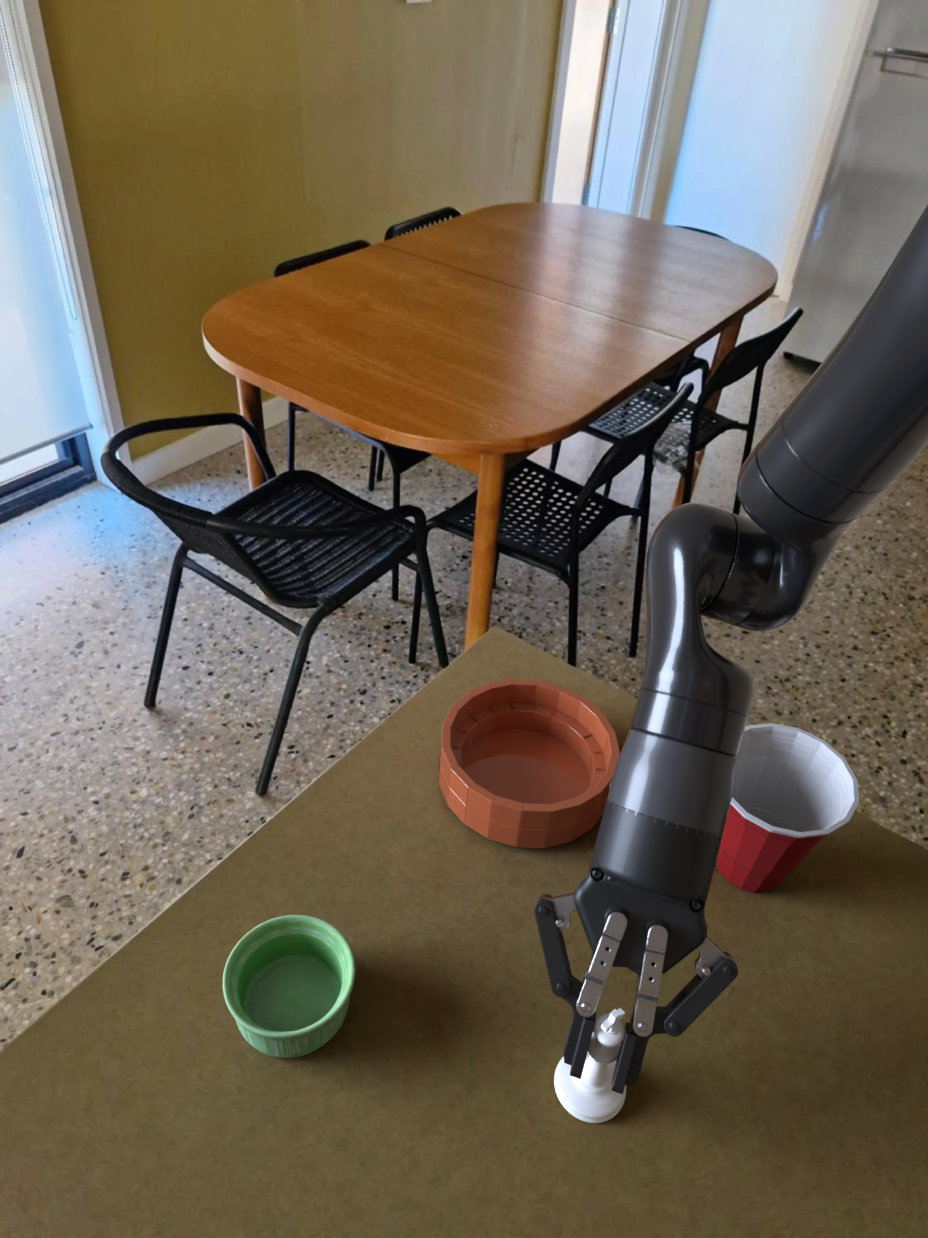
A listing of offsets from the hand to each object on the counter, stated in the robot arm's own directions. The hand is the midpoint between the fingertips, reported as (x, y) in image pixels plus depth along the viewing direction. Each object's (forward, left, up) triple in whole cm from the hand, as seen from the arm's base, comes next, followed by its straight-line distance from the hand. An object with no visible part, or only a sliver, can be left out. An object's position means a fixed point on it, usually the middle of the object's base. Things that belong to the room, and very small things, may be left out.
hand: (596, 1079), depth 56 cm
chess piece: (+1, -2, -6) cm, 6 cm away
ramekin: (+21, +6, -6) cm, 22 cm away
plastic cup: (-1, -26, -6) cm, 27 cm away
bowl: (+19, -22, -5) cm, 29 cm away
